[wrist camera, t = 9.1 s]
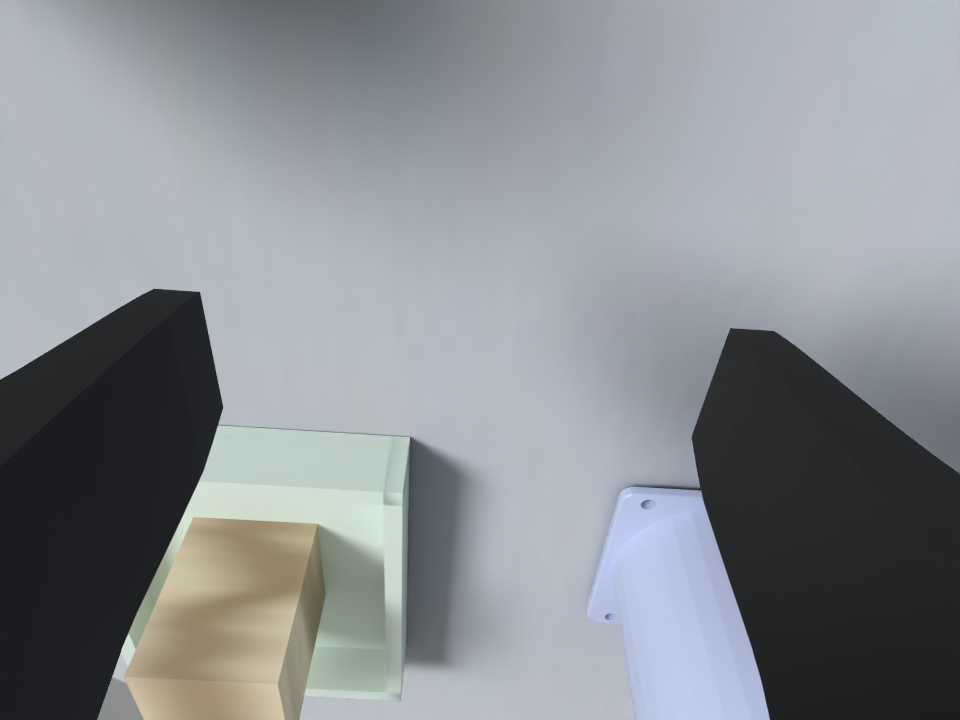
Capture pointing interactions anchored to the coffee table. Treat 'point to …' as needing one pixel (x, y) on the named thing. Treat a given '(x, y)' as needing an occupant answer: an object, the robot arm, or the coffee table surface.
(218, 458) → the serving tray
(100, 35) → the coffee table surface
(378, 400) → the coffee table surface
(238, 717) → the maple block
